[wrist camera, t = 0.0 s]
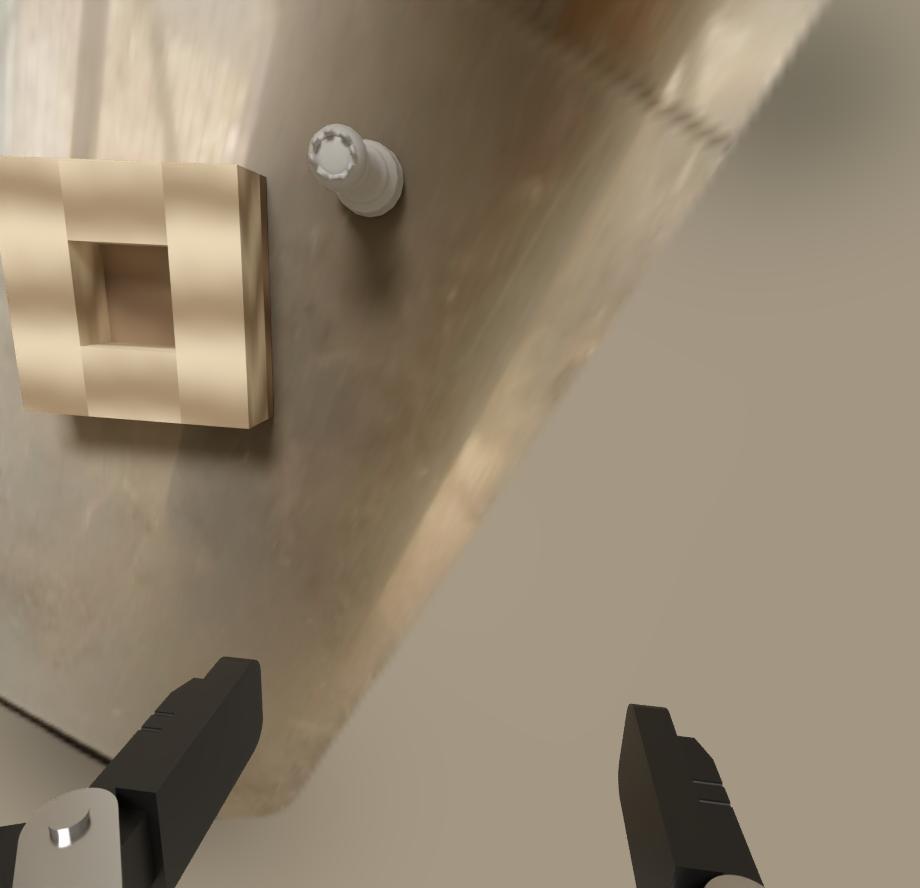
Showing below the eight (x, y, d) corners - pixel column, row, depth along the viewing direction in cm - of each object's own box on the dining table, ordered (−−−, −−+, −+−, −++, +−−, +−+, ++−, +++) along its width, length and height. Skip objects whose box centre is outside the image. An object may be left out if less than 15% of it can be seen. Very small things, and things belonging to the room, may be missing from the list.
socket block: (38, 168, 39) (-14, 155, 36) (266, 177, 38) (237, 164, 34) (68, 400, 44) (24, 411, 40) (273, 415, 42) (249, 429, 38)
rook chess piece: (404, 219, 38) (374, 202, 30) (337, 217, 38) (290, 199, 31) (406, 143, 37) (374, 106, 29) (336, 142, 37) (288, 104, 29)
